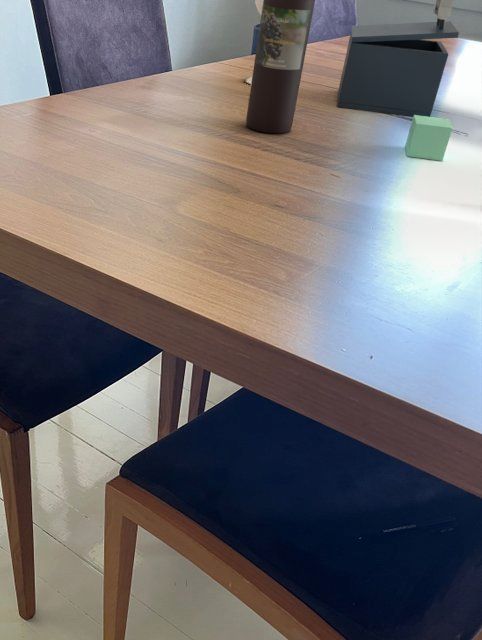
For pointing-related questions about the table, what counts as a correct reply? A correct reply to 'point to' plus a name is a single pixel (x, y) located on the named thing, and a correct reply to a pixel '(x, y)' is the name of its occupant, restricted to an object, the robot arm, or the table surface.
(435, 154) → the mint toy cube
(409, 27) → the lid
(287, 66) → the wine bottle
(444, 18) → the robot arm
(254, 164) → the table surface
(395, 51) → the cool box
